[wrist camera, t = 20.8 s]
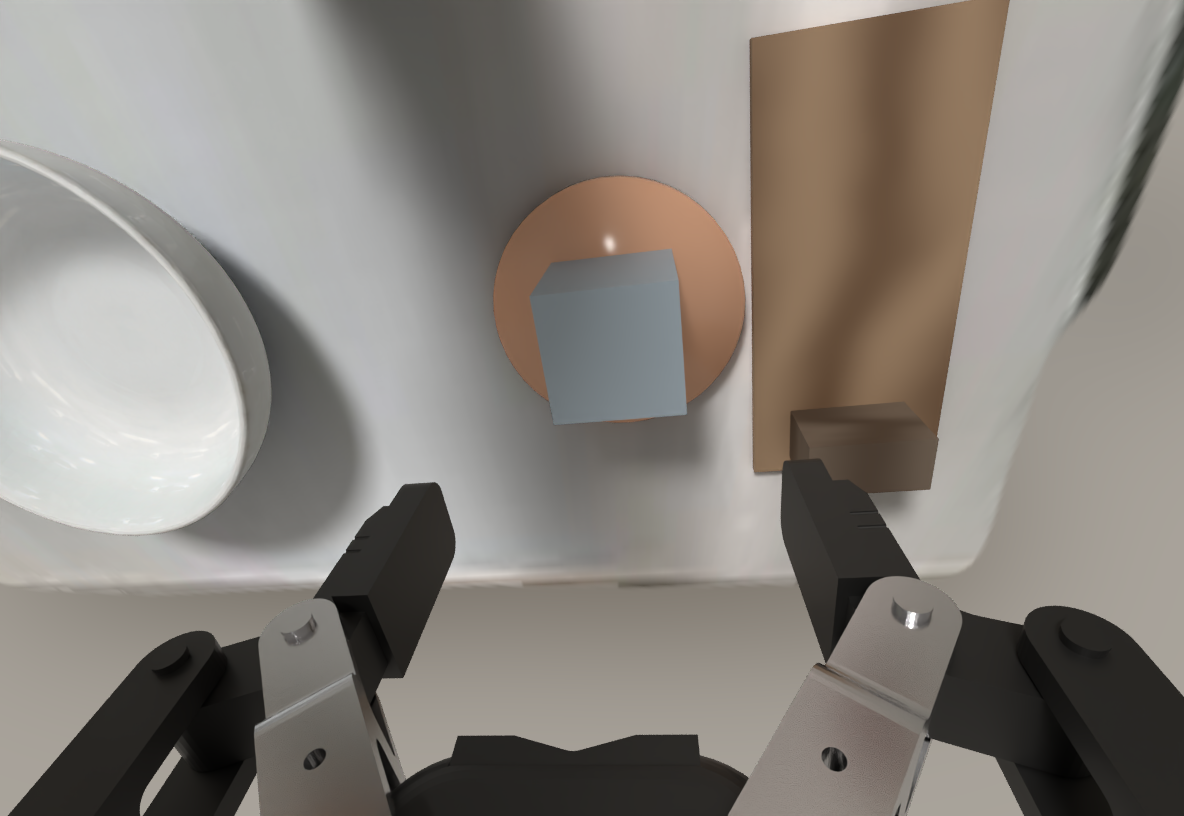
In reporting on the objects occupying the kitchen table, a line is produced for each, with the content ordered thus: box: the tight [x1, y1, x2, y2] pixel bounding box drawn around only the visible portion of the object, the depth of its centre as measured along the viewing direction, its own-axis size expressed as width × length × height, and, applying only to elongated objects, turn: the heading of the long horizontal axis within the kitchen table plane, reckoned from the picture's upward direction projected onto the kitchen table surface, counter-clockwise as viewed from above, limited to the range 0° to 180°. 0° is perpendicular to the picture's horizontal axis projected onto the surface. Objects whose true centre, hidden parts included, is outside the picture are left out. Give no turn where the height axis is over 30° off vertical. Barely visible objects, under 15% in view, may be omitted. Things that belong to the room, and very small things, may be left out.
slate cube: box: [529, 249, 687, 425], centre depth 26 cm, size 6×6×6 cm
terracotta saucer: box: [493, 175, 745, 423], centre depth 29 cm, size 13×13×1 cm
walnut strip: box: [750, 0, 1010, 493], centre depth 26 cm, size 10×22×4 cm, turn 8°
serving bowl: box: [0, 139, 271, 536], centre depth 30 cm, size 21×21×7 cm
